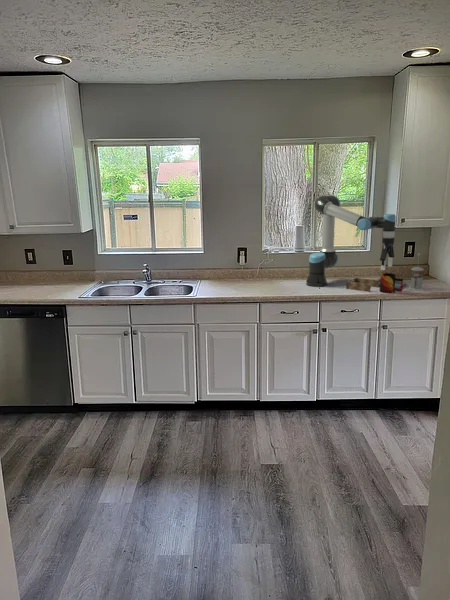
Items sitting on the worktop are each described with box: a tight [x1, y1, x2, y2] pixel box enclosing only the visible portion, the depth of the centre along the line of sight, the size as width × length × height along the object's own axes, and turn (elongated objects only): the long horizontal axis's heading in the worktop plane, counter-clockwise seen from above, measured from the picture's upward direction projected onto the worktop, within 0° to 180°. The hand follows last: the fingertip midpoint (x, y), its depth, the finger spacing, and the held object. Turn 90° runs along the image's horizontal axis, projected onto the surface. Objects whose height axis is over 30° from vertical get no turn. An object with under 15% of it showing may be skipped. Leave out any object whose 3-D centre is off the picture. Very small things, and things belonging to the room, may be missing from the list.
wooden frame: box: [345, 277, 379, 293], centre depth 308 cm, size 17×16×5 cm
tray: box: [377, 278, 407, 289], centre depth 314 cm, size 20×16×2 cm
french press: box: [408, 252, 425, 291], centre depth 299 cm, size 10×12×25 cm
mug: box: [379, 272, 404, 294], centre depth 295 cm, size 10×14×12 cm
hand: (386, 268), depth 295 cm, fingers open, 13 cm apart
